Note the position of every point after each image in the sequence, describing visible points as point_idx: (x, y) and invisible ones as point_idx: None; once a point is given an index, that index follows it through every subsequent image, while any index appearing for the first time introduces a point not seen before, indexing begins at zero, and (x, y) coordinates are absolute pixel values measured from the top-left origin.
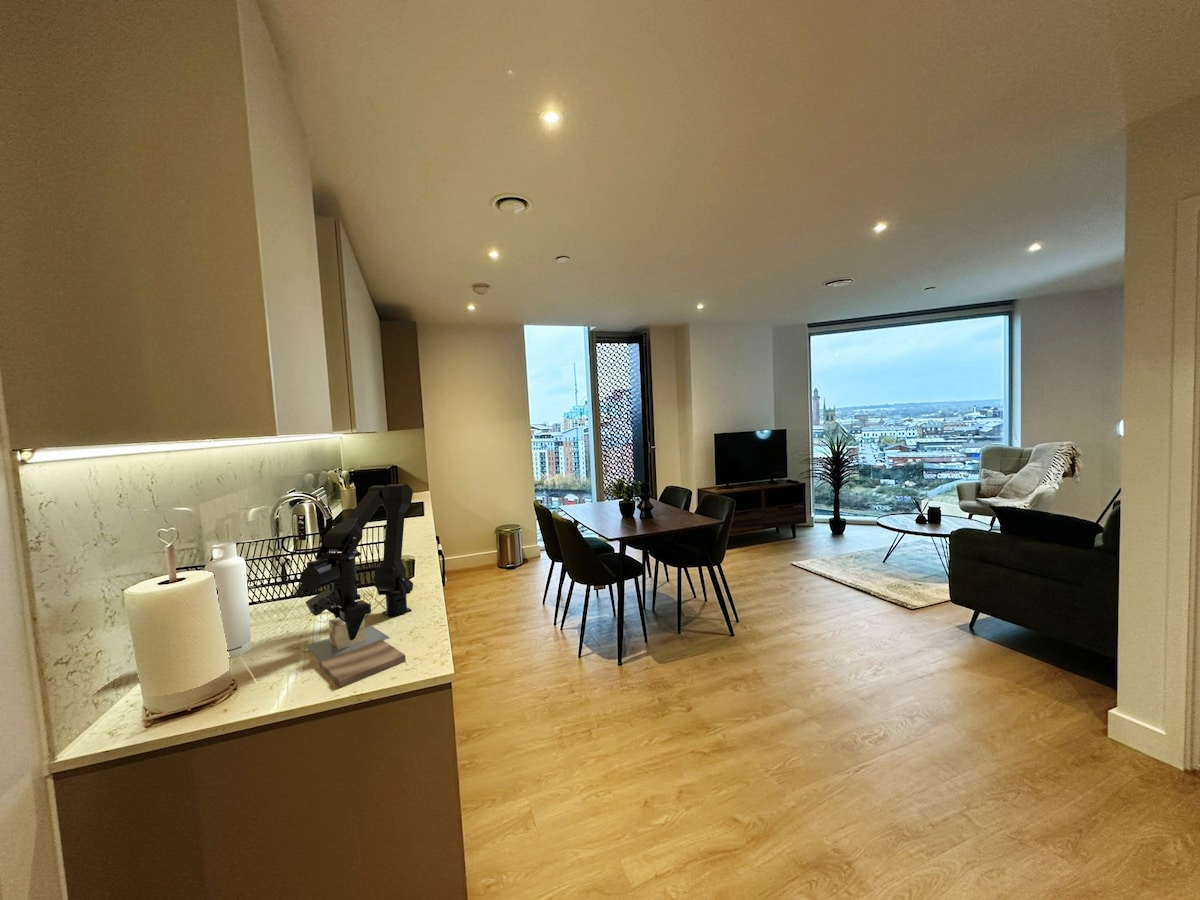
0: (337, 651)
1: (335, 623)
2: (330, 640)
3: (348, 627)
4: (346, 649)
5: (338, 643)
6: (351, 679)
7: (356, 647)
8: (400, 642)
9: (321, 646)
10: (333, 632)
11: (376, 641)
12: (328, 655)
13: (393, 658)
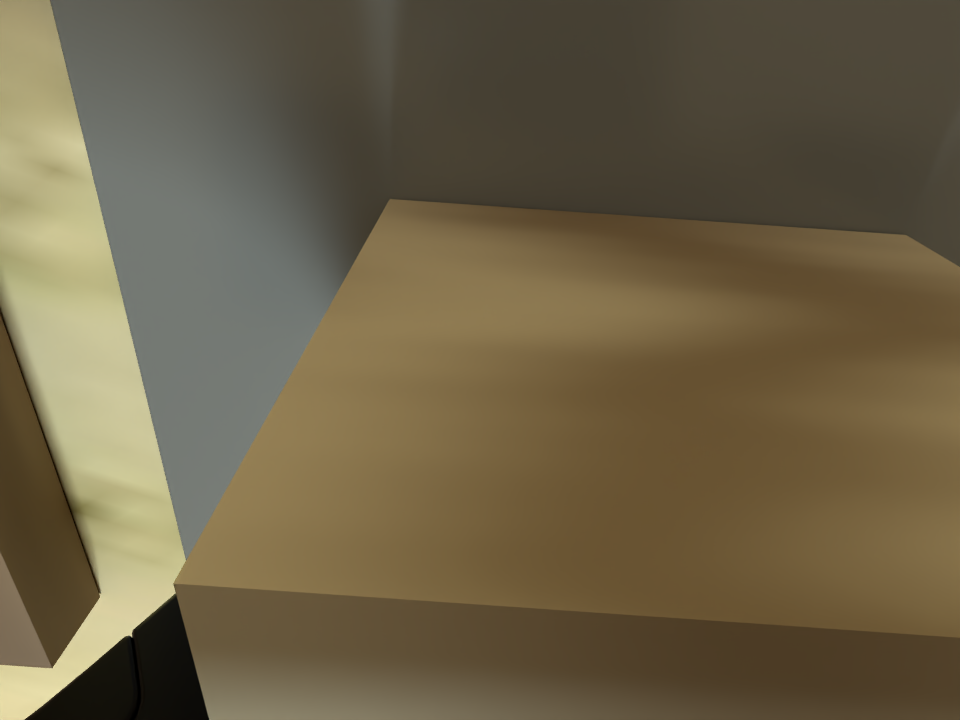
0: (344, 161)
1: (741, 685)
2: (903, 253)
3: (48, 711)
4: (292, 292)
5: (365, 251)
6: None
7: (245, 409)
8: (22, 698)
9: (951, 48)
10: (728, 364)
11: (3, 615)
12: None
13: None
